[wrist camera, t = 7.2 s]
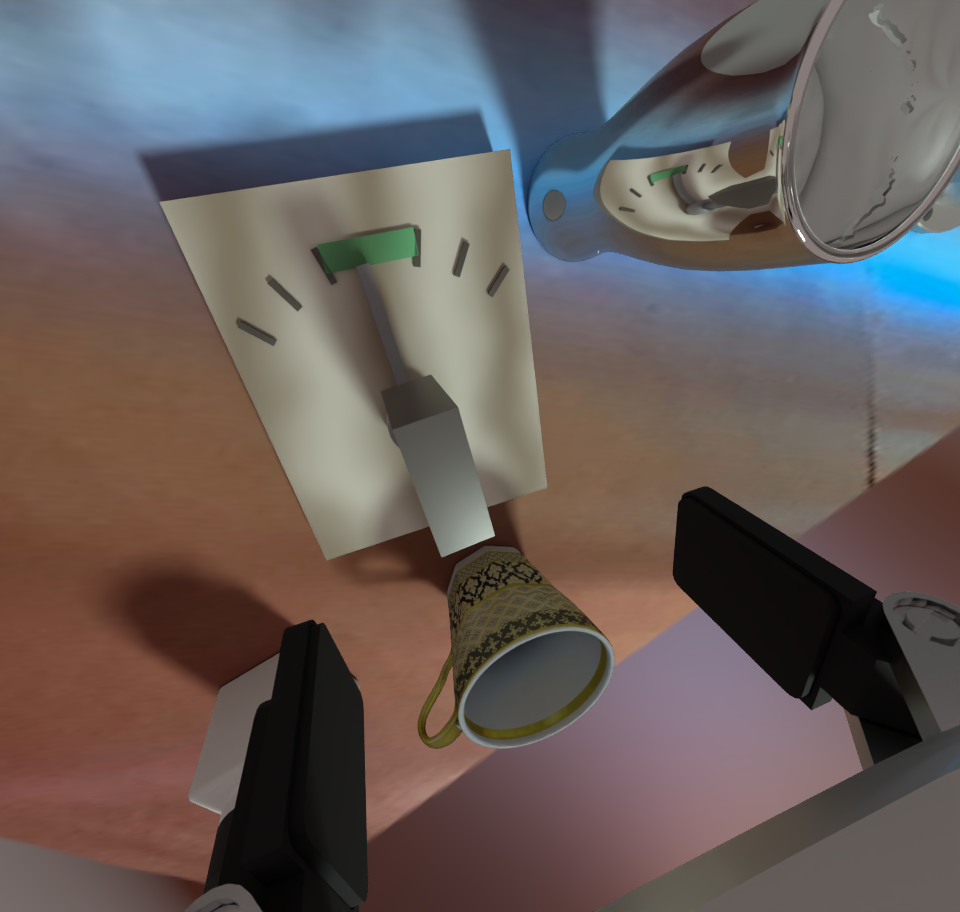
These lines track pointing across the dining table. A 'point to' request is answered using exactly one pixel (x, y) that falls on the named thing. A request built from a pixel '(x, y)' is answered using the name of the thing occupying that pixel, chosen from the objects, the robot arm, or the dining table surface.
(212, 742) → the medicine bottle
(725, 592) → the robot arm
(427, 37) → the dining table surface
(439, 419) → the grey block on stem
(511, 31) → the dining table surface
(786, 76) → the beer glass
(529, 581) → the ceramic cup
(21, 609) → the dining table surface
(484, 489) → the tuner board
